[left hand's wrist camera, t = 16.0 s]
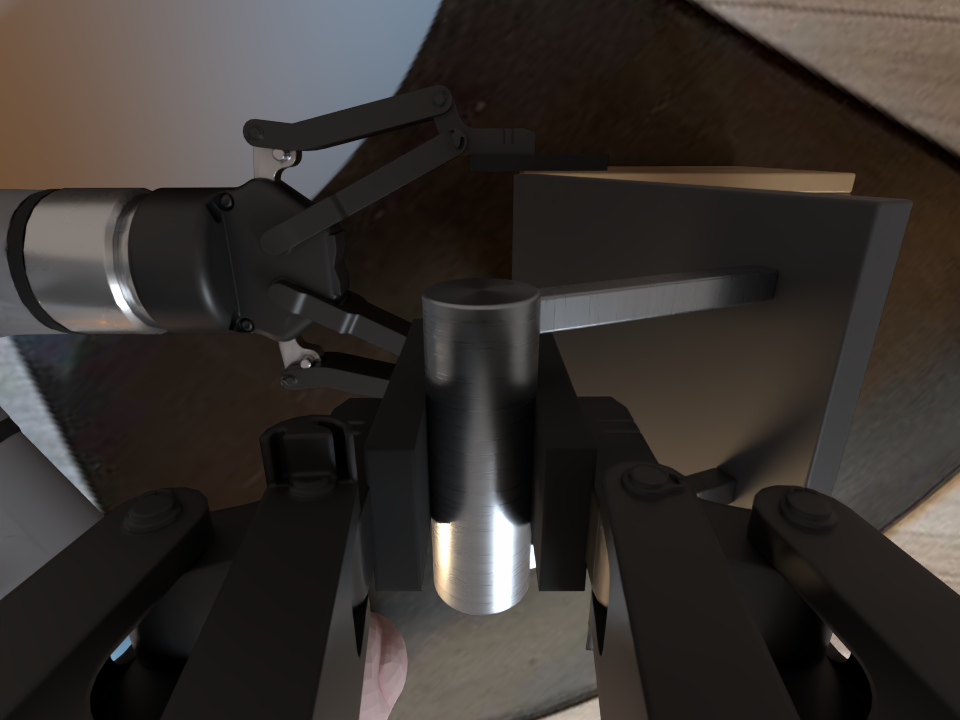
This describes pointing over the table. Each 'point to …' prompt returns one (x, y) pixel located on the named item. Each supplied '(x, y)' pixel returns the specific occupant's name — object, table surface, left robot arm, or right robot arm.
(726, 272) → the lid
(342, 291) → the right robot arm
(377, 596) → the table surface
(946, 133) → the table surface
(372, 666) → the toy
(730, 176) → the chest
